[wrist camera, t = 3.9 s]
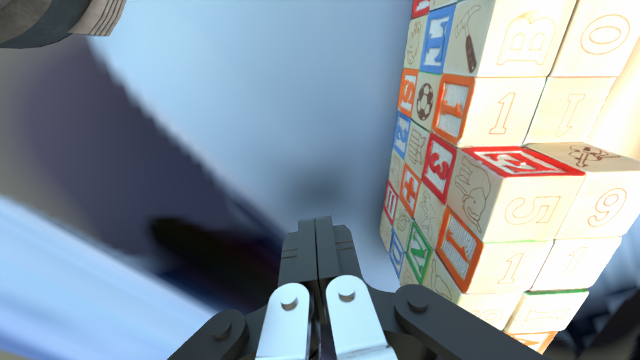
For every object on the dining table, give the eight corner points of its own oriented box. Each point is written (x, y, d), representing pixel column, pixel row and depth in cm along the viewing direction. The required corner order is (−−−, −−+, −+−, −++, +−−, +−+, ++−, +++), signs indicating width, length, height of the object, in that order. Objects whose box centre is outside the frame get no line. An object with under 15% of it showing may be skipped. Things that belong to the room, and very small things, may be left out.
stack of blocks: (414, -40, 16) (667, -268, 5) (511, -38, 16) (967, -250, 5) (378, 234, 25) (434, 372, 14) (439, 232, 25) (541, 367, 14)
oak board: (776, -129, 15) (788, -134, 14) (611, 229, 26) (615, 232, 26) (523, -85, 15) (529, -89, 15) (470, 249, 26) (473, 252, 26)
